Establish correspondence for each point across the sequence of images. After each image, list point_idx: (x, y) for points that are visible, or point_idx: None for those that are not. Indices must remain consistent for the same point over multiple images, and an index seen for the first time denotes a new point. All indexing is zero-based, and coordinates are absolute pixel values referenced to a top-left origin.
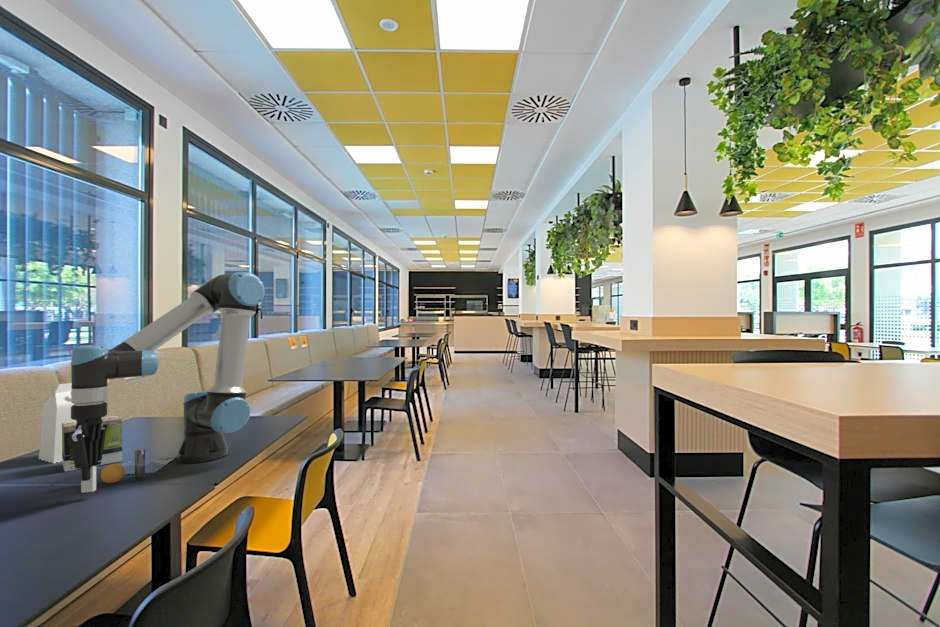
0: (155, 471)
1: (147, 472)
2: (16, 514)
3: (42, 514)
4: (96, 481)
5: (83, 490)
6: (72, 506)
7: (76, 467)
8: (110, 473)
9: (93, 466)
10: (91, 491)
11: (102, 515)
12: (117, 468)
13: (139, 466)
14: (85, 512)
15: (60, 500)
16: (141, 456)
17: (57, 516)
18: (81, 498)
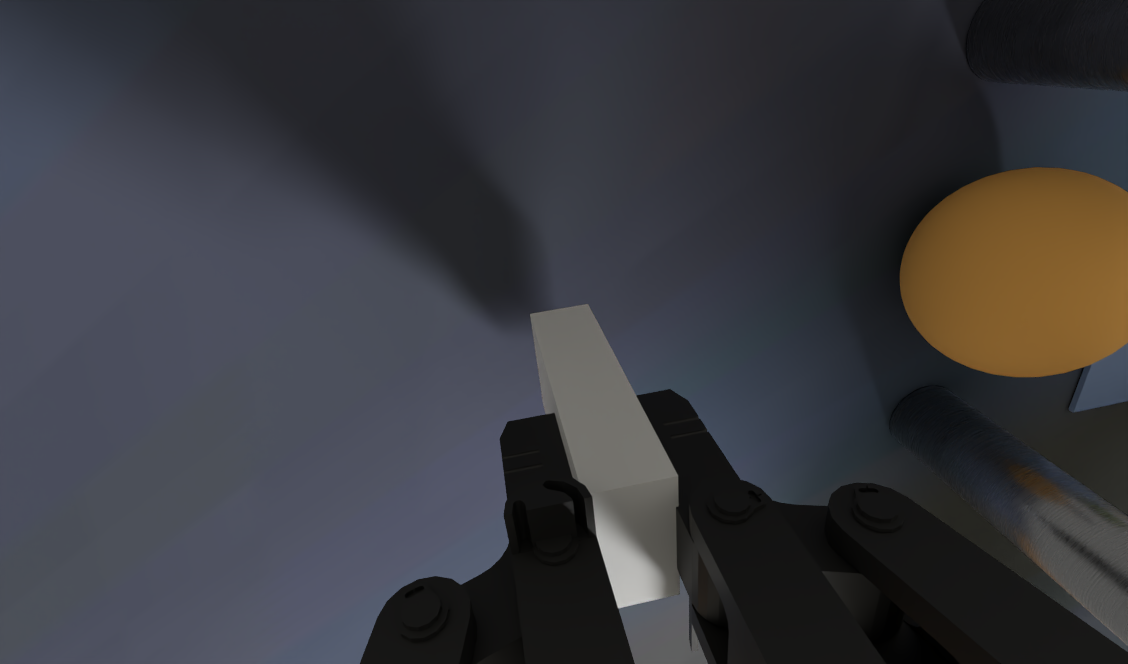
0: (1090, 406)
1: (1095, 364)
2: None
3: (138, 210)
4: (1012, 82)
5: (534, 343)
6: (361, 333)
7: (393, 616)
8: (947, 324)
9: (640, 591)
10: (542, 395)
11: (209, 648)
12: (1012, 372)
13: (989, 517)
14: (244, 521)
15: (526, 78)
16: (1085, 606)
17: (126, 387)
18: (560, 260)
